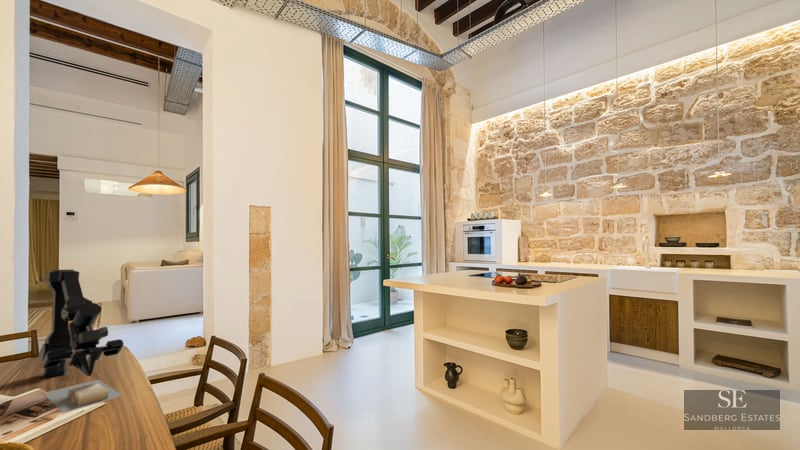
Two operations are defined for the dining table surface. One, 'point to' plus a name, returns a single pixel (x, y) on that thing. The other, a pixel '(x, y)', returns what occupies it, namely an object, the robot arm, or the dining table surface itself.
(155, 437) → the dining table surface
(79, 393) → the oak slab
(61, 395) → the rubber mat
